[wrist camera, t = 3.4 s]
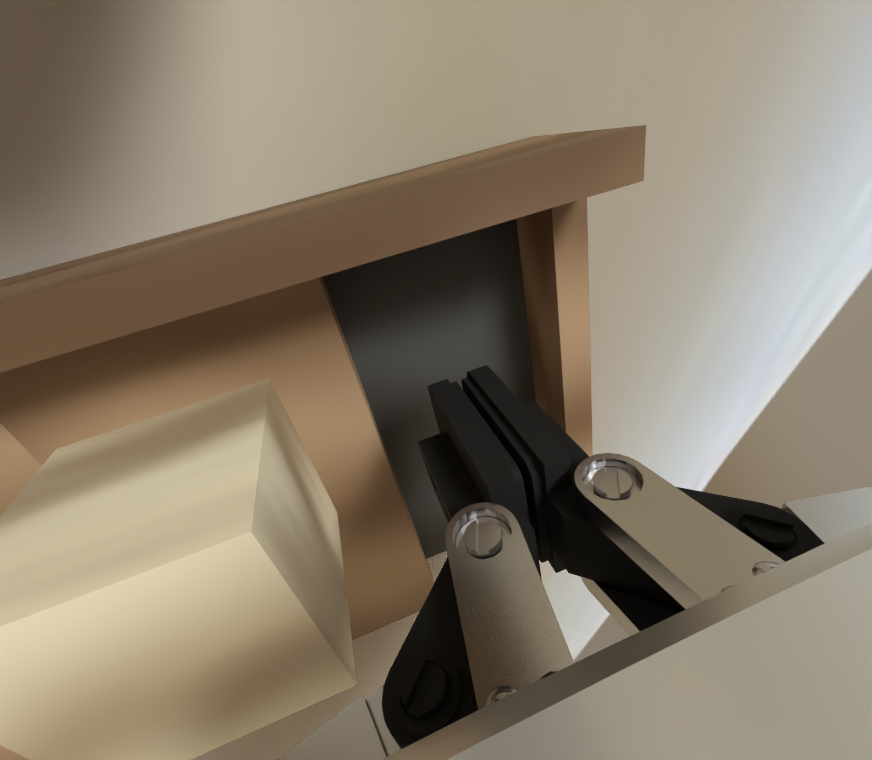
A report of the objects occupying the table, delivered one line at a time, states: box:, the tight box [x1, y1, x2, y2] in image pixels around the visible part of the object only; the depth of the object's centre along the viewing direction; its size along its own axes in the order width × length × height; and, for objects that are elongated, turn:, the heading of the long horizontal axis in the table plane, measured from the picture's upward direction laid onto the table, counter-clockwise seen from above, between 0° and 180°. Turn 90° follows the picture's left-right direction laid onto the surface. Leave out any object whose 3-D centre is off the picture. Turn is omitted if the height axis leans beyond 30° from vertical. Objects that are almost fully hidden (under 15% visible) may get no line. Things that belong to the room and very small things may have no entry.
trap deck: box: [0, 125, 646, 760], centre depth 12 cm, size 15×32×4 cm, turn 102°
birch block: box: [0, 379, 357, 760], centre depth 9 cm, size 5×5×5 cm
